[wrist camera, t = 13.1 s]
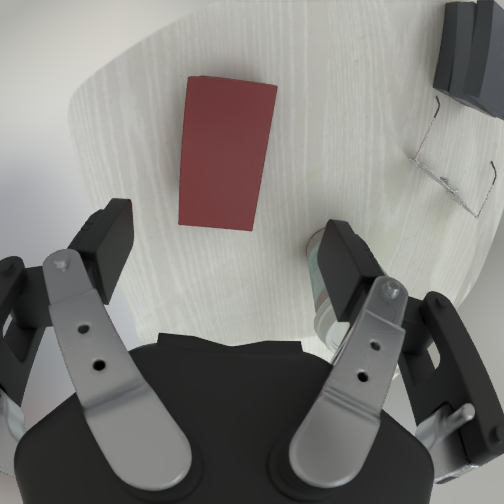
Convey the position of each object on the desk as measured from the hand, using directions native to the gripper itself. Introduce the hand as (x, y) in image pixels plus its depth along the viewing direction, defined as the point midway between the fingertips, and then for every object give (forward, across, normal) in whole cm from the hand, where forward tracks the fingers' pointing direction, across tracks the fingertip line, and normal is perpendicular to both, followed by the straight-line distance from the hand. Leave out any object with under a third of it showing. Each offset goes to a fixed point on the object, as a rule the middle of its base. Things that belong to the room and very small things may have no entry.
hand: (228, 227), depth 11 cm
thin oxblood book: (+12, 0, +1) cm, 12 cm away
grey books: (+16, -21, -15) cm, 31 cm away
